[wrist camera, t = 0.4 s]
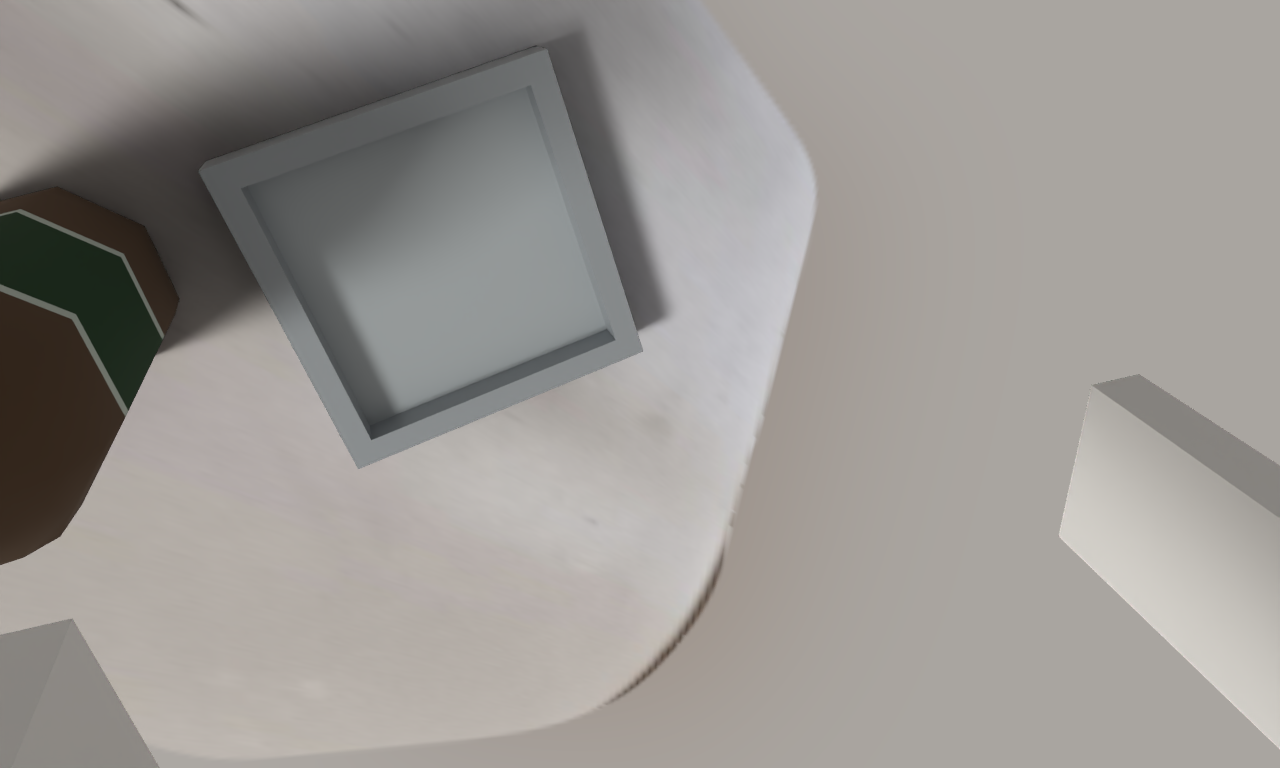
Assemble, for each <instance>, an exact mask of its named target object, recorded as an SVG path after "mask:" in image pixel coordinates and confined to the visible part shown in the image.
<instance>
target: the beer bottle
mask: <svg viewBox="0 0 1280 768" xmlns="http://www.w3.org/2000/svg"><path fill="white" fill-rule="evenodd" d="M178 302H179V297H178V295H177V293H176V291H175V289H174V287H173V285H172V282H171V280H170V278H169V276H168V274H167V272H166V270H165V268H164V266H163V264H162V262H161V259H160V257H159V255H158V253H157V251H156V249H155V247H154V245H153V243H152V241H151V239H150V236H149V234H148V232H147V230H146V228H145V226H143V225H141V224H139V223H136V222H134V221H132V220H130V219H127V218H125V217H123V216H121V215H119V214H116V213H114V212H112V211H110V210H108V209H105V208H103V207H101V206H99V205H97V204H94V203H92V202H90V201H88V200H85V199H83V198H81V197H79V196H77V195H74V194H72V193H70V192H68V191H66V190H63V189H61V188H59V187H54V188H50V189H46V190H42V191H38V192H34V193H30V194H26V195H22V196H18V197H14V198H10V199H6V200H2V201H0V565H2V564H5V563H8V562H11V561H14V560H17V559H20V558H23V557H25V556H27V555H29V554H30V553H32V552H34V551H36V550H37V549H39V548H41V547H43V546H44V545H46V544H48V543H50V542H51V541H53V540H55V539H57V538H58V537H60V536H61V535H62V533H63V532H64V530H65V529H66V527H67V526H68V524H69V523H70V521H71V520H72V518H73V517H74V515H75V514H76V513H77V511H78V510H79V508H80V507H81V505H82V503H83V501H84V499H85V497H86V495H87V493H88V491H89V489H90V487H91V485H92V483H93V481H94V479H95V477H96V475H97V473H98V471H99V469H100V467H101V465H102V463H103V461H104V459H105V457H106V455H107V453H108V451H109V449H110V447H111V445H112V443H113V441H114V439H115V437H116V435H117V433H118V431H119V429H120V427H121V425H122V423H123V421H124V419H125V417H126V415H127V413H128V411H129V408H130V406H131V404H132V402H133V400H134V398H135V396H136V394H137V392H138V390H139V388H140V386H141V384H142V382H143V380H144V377H145V375H146V373H147V371H148V369H149V367H150V365H151V363H152V361H153V359H154V357H155V355H156V353H157V351H158V349H159V346H160V344H161V342H162V340H163V338H164V336H165V334H166V332H167V330H168V328H169V326H170V324H171V322H172V320H173V317H174V315H175V313H176V309H177V306H178Z"/></svg>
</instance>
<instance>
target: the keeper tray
mask: <svg viewBox="0 0 1280 768" xmlns="http://www.w3.org/2000/svg"><path fill="white" fill-rule="evenodd" d="M198 172H199V174H200V176H201V178H202V180H203V181H204V183H205V185H206V187H207V189H208V191H209V193H210V194H211V196H212V198H213V200H214V202H215V204H216V206H217V207H218V209H219V211H220V213H221V215H222V217H223V219H224V220H225V222H226V224H227V226H228V228H229V230H230V232H231V233H232V235H233V237H234V239H235V241H236V243H237V245H238V246H239V248H240V250H241V252H242V254H243V256H244V258H245V259H246V261H247V263H248V265H249V267H250V269H251V271H252V272H253V274H254V276H255V278H256V280H257V282H258V284H259V285H260V287H261V289H262V291H263V293H264V295H265V297H266V298H267V300H268V302H269V304H270V306H271V308H272V310H273V311H274V313H275V315H276V317H277V319H278V321H279V323H280V324H281V326H282V328H283V330H284V332H285V334H286V336H287V338H288V339H289V341H290V343H291V345H292V347H293V349H294V351H295V352H296V354H297V356H298V358H299V360H300V362H301V364H302V365H303V367H304V369H305V371H306V373H307V375H308V377H309V378H310V380H311V382H312V384H313V386H314V388H315V390H316V391H317V393H318V395H319V397H320V399H321V401H322V403H323V404H324V406H325V408H326V410H327V412H328V414H329V416H330V417H331V419H332V421H333V423H334V425H335V427H336V429H337V430H338V432H339V434H340V436H341V438H342V440H343V442H344V443H345V445H346V447H347V449H348V451H349V453H350V455H351V456H352V458H353V460H354V462H355V464H356V466H357V468H358V469H360V468H362V467H365V466H367V465H370V464H372V463H374V462H377V461H379V460H382V459H384V458H386V457H389V456H391V455H394V454H396V453H399V452H401V451H403V450H406V449H408V448H411V447H413V446H415V445H418V444H420V443H423V442H425V441H428V440H430V439H432V438H435V437H437V436H440V435H442V434H444V433H447V432H449V431H452V430H454V429H457V428H459V427H461V426H464V425H466V424H469V423H471V422H473V421H476V420H478V419H481V418H483V417H486V416H488V415H490V414H493V413H495V412H498V411H500V410H503V409H505V408H507V407H510V406H512V405H515V404H517V403H519V402H522V401H524V400H527V399H529V398H532V397H534V396H536V395H539V394H541V393H544V392H546V391H548V390H551V389H553V388H556V387H558V386H561V385H563V384H565V383H568V382H570V381H573V380H575V379H577V378H580V377H582V376H585V375H587V374H590V373H592V372H594V371H597V370H599V369H602V368H604V367H606V366H609V365H611V364H614V363H616V362H619V361H621V360H623V359H626V358H628V357H631V356H633V355H635V354H638V353H640V352H643V349H642V345H641V342H640V339H639V336H638V333H637V330H636V327H635V323H634V320H633V317H632V314H631V311H630V308H629V305H628V301H627V298H626V295H625V292H624V289H623V286H622V283H621V279H620V276H619V273H618V270H617V267H616V264H615V261H614V257H613V254H612V251H611V248H610V245H609V242H608V239H607V235H606V232H605V229H604V226H603V223H602V220H601V217H600V213H599V210H598V207H597V204H596V201H595V198H594V195H593V191H592V188H591V185H590V182H589V179H588V176H587V173H586V169H585V166H584V163H583V160H582V157H581V154H580V151H579V147H578V144H577V141H576V138H575V135H574V132H573V129H572V125H571V122H570V119H569V116H568V113H567V110H566V107H565V103H564V100H563V97H562V94H561V91H560V88H559V85H558V81H557V78H556V75H555V72H554V69H553V66H552V63H551V59H550V56H549V53H548V50H547V49H546V48H542V47H538V46H534V47H531V48H529V49H526V50H523V51H520V52H517V53H514V54H511V55H508V56H506V57H503V58H500V59H497V60H494V61H491V62H488V63H486V64H483V65H480V66H477V67H474V68H471V69H468V70H466V71H463V72H460V73H457V74H454V75H451V76H448V77H446V78H443V79H440V80H437V81H434V82H431V83H428V84H426V85H423V86H420V87H417V88H414V89H411V90H408V91H405V92H403V93H400V94H397V95H394V96H391V97H388V98H385V99H383V100H380V101H377V102H374V103H371V104H368V105H365V106H363V107H360V108H357V109H354V110H351V111H348V112H345V113H343V114H340V115H337V116H334V117H331V118H328V119H325V120H323V121H320V122H317V123H314V124H311V125H308V126H305V127H303V128H300V129H297V130H294V131H291V132H288V133H285V134H282V135H280V136H277V137H274V138H271V139H268V140H265V141H262V142H260V143H257V144H254V145H251V146H248V147H245V148H242V149H240V150H237V151H234V152H231V153H228V154H225V155H222V156H220V157H217V158H214V159H211V160H208V161H205V163H204V164H203V165H202V167H201V168H200V169H199V171H198Z"/></svg>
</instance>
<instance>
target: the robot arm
mask: <svg viewBox="0 0 1280 768" xmlns="http://www.w3.org/2000/svg"><path fill="white" fill-rule="evenodd" d="M1059 537H1060V538H1061V539H1062V540H1063V541H1064V542H1065V543H1066V544H1067V545H1068V546H1069V547H1070V548H1071V549H1072V550H1073V551H1074V552H1075V553H1076V554H1077V555H1078V556H1080V557H1081V558H1082V559H1083V560H1084V561H1085V562H1086V563H1087V564H1088V565H1089V566H1090V567H1091V568H1092V569H1093V570H1094V571H1095V572H1096V573H1097V574H1098V575H1099V576H1100V577H1101V578H1103V580H1104V581H1105V582H1106V583H1108V584H1109V585H1110V586H1111V587H1112V588H1113V589H1114V590H1115V591H1116V592H1117V593H1118V594H1119V595H1120V596H1121V597H1122V598H1123V599H1124V600H1125V601H1126V602H1127V603H1128V604H1129V605H1130V606H1131V607H1132V608H1133V609H1135V610H1136V611H1137V612H1138V613H1139V614H1140V615H1141V616H1142V617H1143V618H1144V619H1145V620H1146V621H1147V622H1148V623H1149V624H1150V625H1151V626H1152V627H1153V628H1154V629H1155V630H1156V631H1157V632H1158V633H1159V634H1161V635H1162V636H1163V637H1164V638H1165V639H1166V640H1167V641H1168V642H1169V643H1170V644H1171V645H1172V646H1173V647H1174V648H1175V649H1176V650H1177V651H1178V652H1179V653H1180V654H1182V656H1183V657H1184V658H1185V659H1186V660H1187V661H1189V662H1190V663H1191V664H1192V665H1193V666H1194V667H1195V668H1196V669H1197V670H1198V671H1199V672H1200V673H1201V674H1202V675H1203V676H1204V677H1205V678H1206V679H1207V680H1208V681H1209V682H1210V683H1211V684H1213V685H1214V686H1215V687H1216V688H1217V689H1218V690H1219V691H1220V692H1221V693H1222V694H1223V695H1224V696H1225V697H1226V698H1227V699H1228V700H1229V701H1230V702H1231V703H1232V704H1233V705H1234V706H1235V707H1236V708H1237V709H1238V710H1239V711H1241V712H1242V713H1243V714H1244V715H1245V716H1246V717H1247V718H1248V719H1249V720H1250V721H1251V722H1252V723H1253V724H1254V725H1255V726H1256V727H1257V728H1258V729H1259V730H1260V731H1261V732H1262V733H1263V734H1264V735H1265V736H1266V737H1268V738H1269V739H1270V740H1271V741H1272V742H1273V743H1274V744H1275V745H1276V746H1277V747H1278V748H1279V749H1280V466H1279V465H1278V464H1276V463H1275V462H1273V461H1272V460H1270V459H1269V458H1267V457H1266V456H1264V455H1262V454H1261V453H1259V452H1258V451H1256V450H1255V449H1253V448H1252V447H1250V446H1249V445H1247V444H1246V443H1244V442H1243V441H1241V440H1239V439H1238V438H1236V437H1235V436H1233V435H1232V434H1230V433H1229V432H1227V431H1226V430H1224V429H1223V428H1221V427H1219V426H1218V425H1216V424H1215V423H1213V422H1212V421H1210V420H1209V419H1207V418H1206V417H1204V416H1203V415H1201V414H1199V413H1198V412H1196V411H1195V410H1193V409H1192V408H1190V407H1189V406H1187V405H1186V404H1184V403H1182V402H1181V401H1179V400H1178V399H1176V398H1175V397H1173V396H1172V395H1170V394H1169V393H1167V392H1166V391H1164V390H1163V389H1161V388H1159V387H1158V386H1156V385H1155V384H1153V383H1152V382H1150V381H1149V380H1147V379H1146V378H1144V377H1142V376H1141V375H1139V374H1138V375H1133V376H1129V377H1125V378H1120V379H1116V380H1111V381H1107V382H1103V383H1098V384H1094V385H1091V389H1090V394H1089V398H1088V403H1087V408H1086V412H1085V417H1084V421H1083V426H1082V431H1081V435H1080V440H1079V444H1078V449H1077V454H1076V458H1075V463H1074V467H1073V472H1072V477H1071V481H1070V486H1069V490H1068V495H1067V500H1066V505H1065V509H1064V514H1063V518H1062V523H1061V527H1060V532H1059ZM0 768H159V766H158V764H157V763H156V761H155V759H154V757H153V756H152V754H151V752H150V751H149V749H148V747H147V745H146V744H145V742H144V740H143V739H142V737H141V735H140V733H139V732H138V730H137V728H136V727H135V725H134V723H133V721H132V720H131V718H130V716H129V715H128V713H127V711H126V710H125V708H124V706H123V704H122V703H121V701H120V699H119V698H118V696H117V694H116V692H115V691H114V689H113V687H112V686H111V684H110V682H109V680H108V679H107V677H106V675H105V674H104V672H103V670H102V668H101V667H100V665H99V663H98V662H97V660H96V658H95V656H94V655H93V653H92V651H91V650H90V648H89V646H88V644H87V643H86V641H85V639H84V638H83V636H82V634H81V632H80V631H79V629H78V627H77V626H76V624H75V622H74V620H73V619H68V620H64V621H59V622H55V623H51V624H46V625H42V626H38V627H33V628H29V629H24V630H20V631H16V632H11V633H7V634H3V635H0Z"/></svg>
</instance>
